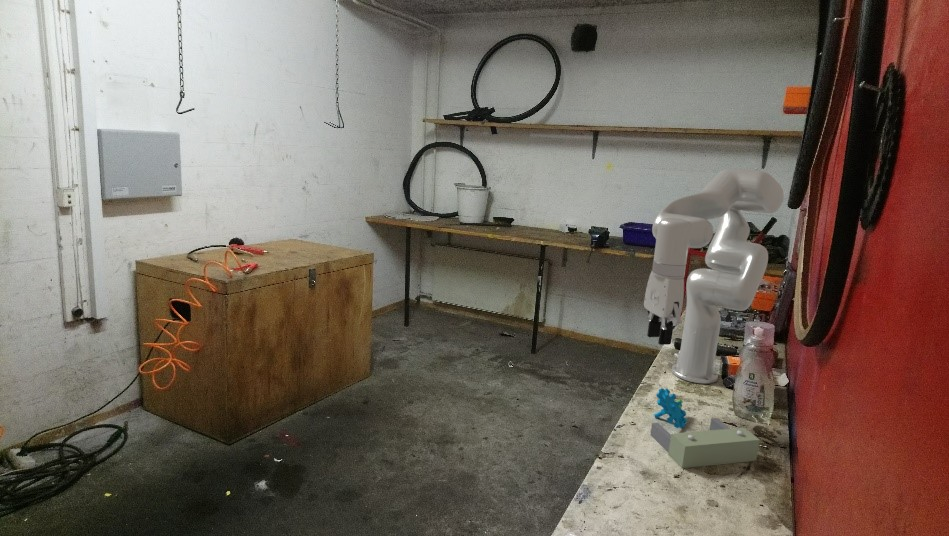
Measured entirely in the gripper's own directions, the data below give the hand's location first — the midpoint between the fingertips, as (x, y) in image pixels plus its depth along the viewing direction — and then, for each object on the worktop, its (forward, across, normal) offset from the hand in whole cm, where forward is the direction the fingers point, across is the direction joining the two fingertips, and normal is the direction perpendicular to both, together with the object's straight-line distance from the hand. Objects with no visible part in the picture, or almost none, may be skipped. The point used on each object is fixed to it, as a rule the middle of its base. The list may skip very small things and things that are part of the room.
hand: (658, 339), depth 137 cm
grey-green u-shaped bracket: (+17, +21, 0) cm, 27 cm away
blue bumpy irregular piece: (+18, +9, 0) cm, 20 cm away
